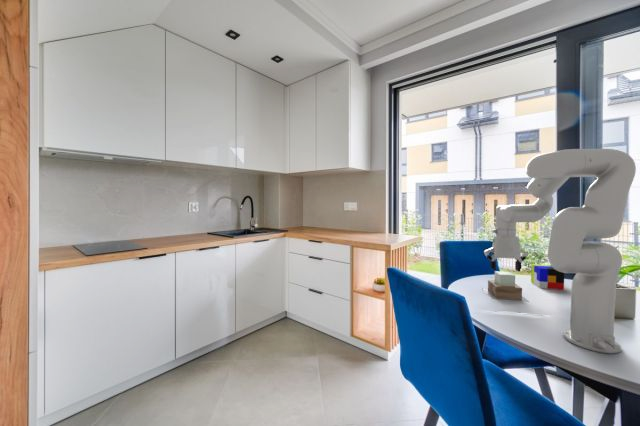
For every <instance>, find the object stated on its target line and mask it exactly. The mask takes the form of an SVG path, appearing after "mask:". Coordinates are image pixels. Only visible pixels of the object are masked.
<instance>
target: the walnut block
mask: <svg viewBox="0 0 640 426" xmlns="http://www.w3.org/2000/svg"><path fill="white" fill-rule="evenodd" d="M494 281H495V279H494V280H492V279H488V280H487V289H488V291H489V292H490V293H491V294H492V295H494V296H495V297H496V298H508V299H521V300H522V297H523V288H522V287H521V286H520V285H518V284H517V283H515V286H500V285H498V284H497V283H496V282H494Z"/></svg>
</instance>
